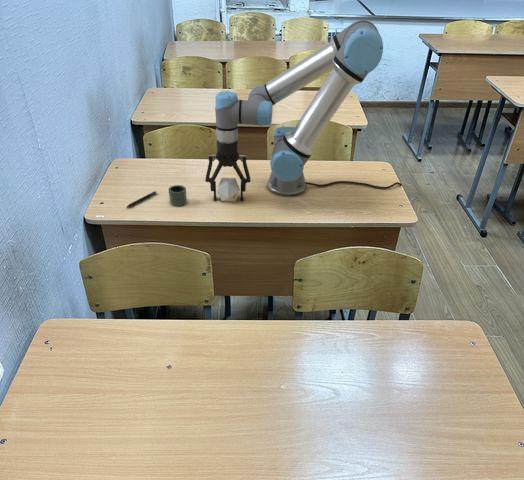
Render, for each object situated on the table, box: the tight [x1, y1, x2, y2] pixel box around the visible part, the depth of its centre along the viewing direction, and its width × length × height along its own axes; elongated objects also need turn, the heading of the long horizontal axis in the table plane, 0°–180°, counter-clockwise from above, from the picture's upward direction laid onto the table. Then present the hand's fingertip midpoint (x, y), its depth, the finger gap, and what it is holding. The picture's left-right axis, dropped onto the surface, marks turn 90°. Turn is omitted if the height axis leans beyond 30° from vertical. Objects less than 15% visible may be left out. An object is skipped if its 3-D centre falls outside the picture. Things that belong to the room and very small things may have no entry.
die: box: [216, 177, 241, 202], centre depth 193 cm, size 8×9×10 cm
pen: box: [126, 191, 157, 208], centre depth 192 cm, size 1×16×1 cm, turn 145°
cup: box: [168, 184, 188, 207], centre depth 191 cm, size 6×6×6 cm
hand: (228, 198), depth 195 cm, fingers open, 9 cm apart
